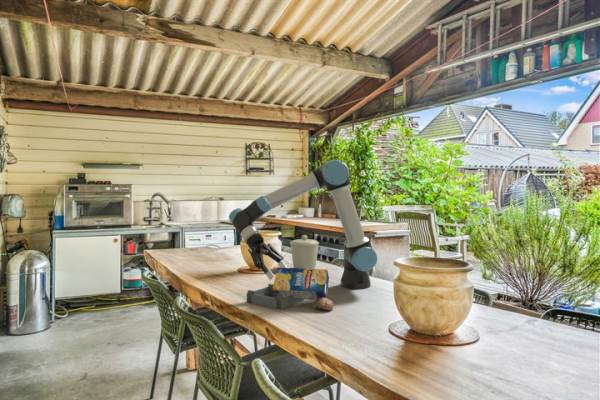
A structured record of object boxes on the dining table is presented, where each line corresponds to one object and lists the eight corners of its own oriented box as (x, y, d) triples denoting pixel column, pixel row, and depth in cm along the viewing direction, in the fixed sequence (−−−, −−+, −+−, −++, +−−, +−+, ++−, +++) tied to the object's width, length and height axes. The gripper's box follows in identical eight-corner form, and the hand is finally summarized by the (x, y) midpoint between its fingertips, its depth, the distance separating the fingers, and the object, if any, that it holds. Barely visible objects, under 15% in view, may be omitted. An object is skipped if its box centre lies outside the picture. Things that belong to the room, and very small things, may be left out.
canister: (319, 272, 243) (319, 236, 242) (289, 272, 243) (289, 236, 242) (318, 266, 261) (318, 233, 260) (290, 266, 261) (290, 233, 261)
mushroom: (314, 314, 163) (334, 309, 162) (311, 298, 164) (330, 293, 164) (316, 314, 170) (335, 309, 169) (312, 299, 172) (331, 294, 171)
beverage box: (272, 289, 172) (324, 292, 167) (277, 267, 179) (327, 269, 174) (275, 297, 177) (326, 300, 172) (280, 276, 184) (329, 278, 179)
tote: (303, 300, 180) (303, 288, 180) (282, 309, 167) (282, 296, 167) (269, 294, 191) (269, 283, 191) (246, 302, 177) (246, 290, 177)
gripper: (264, 240, 196) (290, 276, 188) (230, 246, 177) (258, 286, 169) (272, 229, 193) (300, 265, 185) (239, 234, 174) (268, 275, 166)
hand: (280, 275), depth 177 cm, fingers open, 11 cm apart
